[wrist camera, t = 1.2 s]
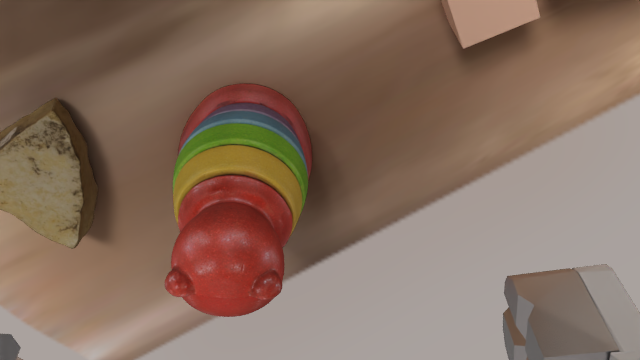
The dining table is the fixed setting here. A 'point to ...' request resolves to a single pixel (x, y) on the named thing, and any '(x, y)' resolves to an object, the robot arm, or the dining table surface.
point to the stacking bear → (237, 198)
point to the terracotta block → (487, 17)
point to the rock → (48, 175)
